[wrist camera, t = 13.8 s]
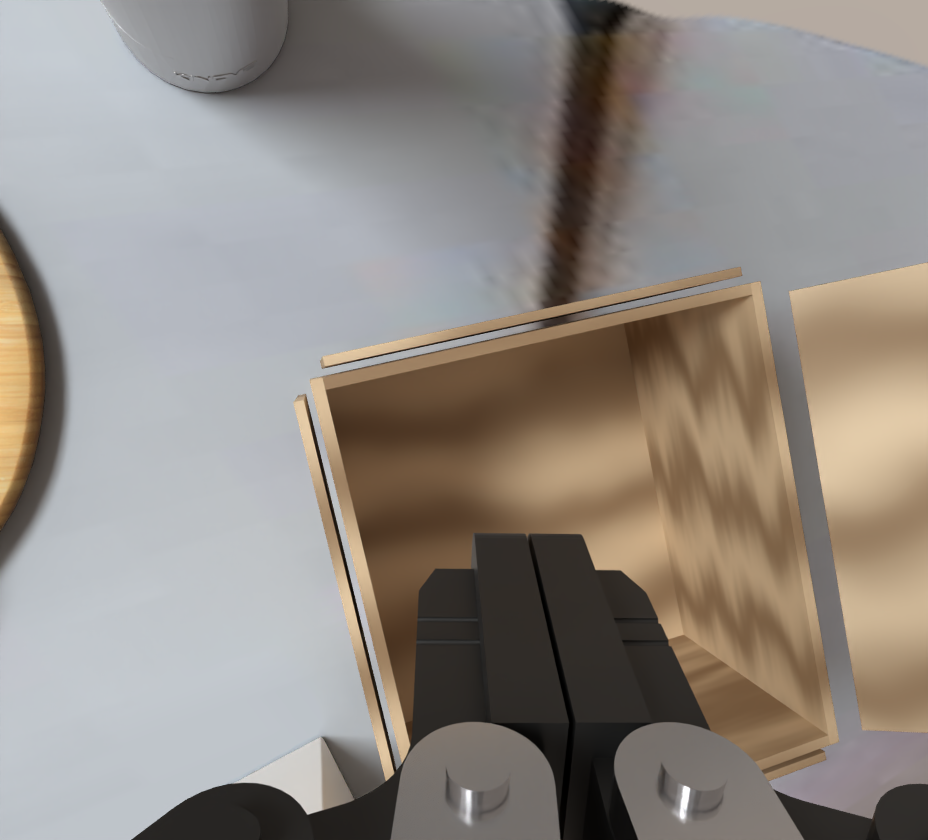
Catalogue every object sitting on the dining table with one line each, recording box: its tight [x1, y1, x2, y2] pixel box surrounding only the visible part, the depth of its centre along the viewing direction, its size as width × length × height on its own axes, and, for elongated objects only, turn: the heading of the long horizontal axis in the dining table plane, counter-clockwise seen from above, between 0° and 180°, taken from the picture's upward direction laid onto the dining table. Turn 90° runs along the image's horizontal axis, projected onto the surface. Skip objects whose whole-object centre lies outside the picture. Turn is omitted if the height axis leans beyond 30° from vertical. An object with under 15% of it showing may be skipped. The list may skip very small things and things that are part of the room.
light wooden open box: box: [293, 267, 839, 781], centre depth 38 cm, size 24×21×14 cm
